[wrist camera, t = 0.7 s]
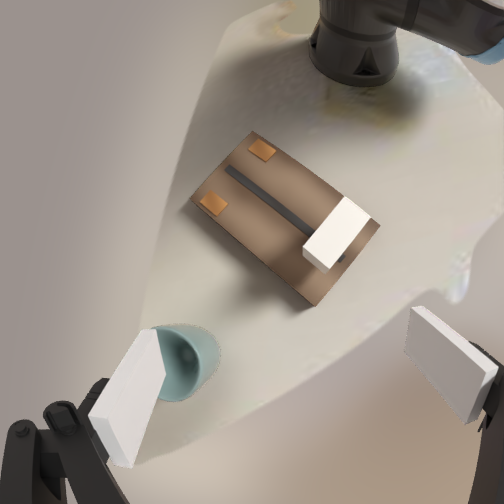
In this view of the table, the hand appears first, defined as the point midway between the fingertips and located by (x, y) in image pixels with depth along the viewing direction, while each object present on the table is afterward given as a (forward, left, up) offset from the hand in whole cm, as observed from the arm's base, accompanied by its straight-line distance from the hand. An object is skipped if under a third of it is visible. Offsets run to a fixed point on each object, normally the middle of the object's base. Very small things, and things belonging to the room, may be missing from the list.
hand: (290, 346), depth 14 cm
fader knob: (-9, -3, -19) cm, 21 cm away
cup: (+11, -7, -22) cm, 26 cm away
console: (-9, -10, -22) cm, 25 cm away
